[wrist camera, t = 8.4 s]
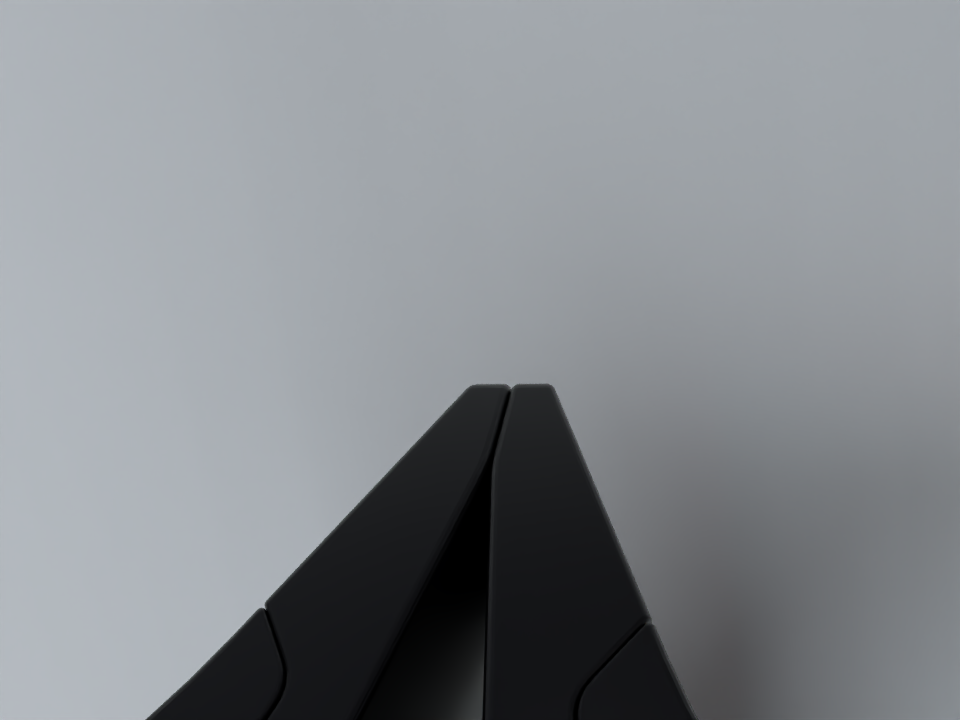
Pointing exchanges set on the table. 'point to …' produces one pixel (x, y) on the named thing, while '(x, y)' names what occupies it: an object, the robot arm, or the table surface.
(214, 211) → the table surface
